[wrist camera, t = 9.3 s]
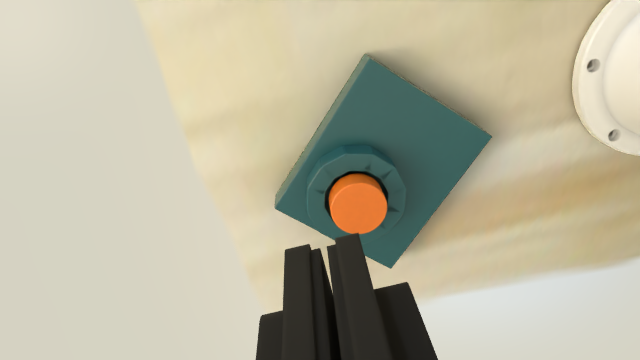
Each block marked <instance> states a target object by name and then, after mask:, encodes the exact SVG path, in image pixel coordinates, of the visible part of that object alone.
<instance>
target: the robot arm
mask: <svg viewBox="0 0 640 360" xmlns="http://www.w3.org/2000/svg"><path fill="white" fill-rule="evenodd" d="M588 63H589V64H588ZM587 65H588V66H587ZM572 95H573V100H574V104H575V109H576V111H577V114H578V116H579V118H580V120H581V122H582V124H583V125H584V126H585V128H586V129H587V130H588V132H589V133H590V134H591V135H592V136H594V137H595V138H596V139H597V140H599V141H600V142H601V143H603V144H605V145H607V146H609V147H611V148H613V149H614V150H617V151H620V152H623V153H626V154H630V155H639V156H640V0H611V1H610V2H609V3H608V4H607V5H606V6H605V7H604V8H603V10H602V11H601V12H600V14H599V15H598V16H597V17H596V19H595V20H594V21H593V23H592V24H591V26H590V28H589V29H588V31H587V33H586V35H585V37H584V38H583V40H582V43H581V45H580V48H579V51H578V54H577V56H576V59H575V65H574V70H573V75H572ZM335 242H336V245H331V246H327V251H328V259H329V266H330V274H331V282H332V290H333V293H332V290H331V286H330V282H329V279H328V275H327V271H326V268H325V264H324V260H323V257H322V253H321V250H320V248H318V249H314V250H311V247H310V245H309V244H307V245H303V246H299V247H295V248H290V249H286V250H285V263H284V294H283V311H278V312H274V313H270V314H265V315H262V316H261V318H260V323H259V333H258V344H257V353H256V360H438V358H437V356H436V353H435V351H434V348H433V346H432V343H431V340H430V338H429V335H428V333H427V330H426V327H425V325H424V323H423V320H422V317H421V315H420V312H419V309H418V307H417V304H416V302H415V299H414V297H413V294H412V291H411V289H410V286H409V284H408V283H407V282H405V283H400V284H396V285H392V286H387V287H383V288H379V289H373V286H372V282H371V278H370V274H369V270H368V267H367V263H366V259H365V255H364V252H363V248H362V244H361V240H360V236H359V233H354V234H350V235H346V236H341V237H337V238H335Z"/></svg>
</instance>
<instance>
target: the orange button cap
mask: <svg viewBox="0 0 640 360" xmlns="http://www.w3.org/2000/svg"><path fill="white" fill-rule="evenodd" d="M329 205H330V211H331V216H332V219H333V221H334V223H335V224H336V225H337V226H338V227H339V228H340V229H342V230H343V231H345V232H348V233H351V234H354V233H359V234H364V233H367V232H370V231H372V230H374V229H375V228H377V227H378V226H379V225H380V224H381V223H382V221H383V220H384V218H385V216H386V213H387V201H386V198H385V196H384V193H383V191H382V189H381V187H380V185H379V183H378V182H377V181H376V180H375V179H374V178H372V177H370V176H368V175H365V174H361V173H354V174H349V175H346V176H344V177H342V178H340V179H339V180H338V181H337V182H336V183H335V184H334V185H333V187H332V189H331V191H330V194H329Z"/></svg>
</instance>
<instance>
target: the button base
mask: <svg viewBox="0 0 640 360" xmlns="http://www.w3.org/2000/svg"><path fill="white" fill-rule="evenodd" d="M491 138H492V136H491V135H490V134H488V133H487V132H486V131H484V130H483V129H482V128H480V127H479V126H477V125H476V124H474V123H473V122H471V121H469V120H468V119H466V118H465V117H463V116H462V115H460V114H459V113H457V112H455V111H454V110H452V109H451V108H449V107H448V106H446V105H445V104H443V103H442V102H440V101H438V100H437V99H435V98H434V97H432V96H431V95H429V94H428V93H426V92H424V91H423V90H421V89H420V88H418V87H417V86H415V85H414V84H412V83H410V82H409V81H407V80H406V79H404V78H403V77H401V76H400V75H398V74H396V73H395V72H393V71H392V70H390V69H389V68H387V67H386V66H384V65H383V64H381V63H379V62H378V61H376V60H375V59H373V58H372V57H370V56H369V55H367V54H364V56H363V57H362V59H361V61H360V62H359V64H358V65H357V67H356V68H355V70H354V72H353V73H352V75H351V76H350V78H349V80H348V81H347V83H346V84H345V86H344V88H343V89H342V91H341V92H340V94H339V96H338V97H337V99H336V100H335V102H334V103H333V105H332V107H331V108H330V110H329V111H328V113H327V115H326V116H325V118H324V119H323V121H322V123H321V124H320V126H319V127H318V129H317V131H316V132H315V134H314V135H313V137H312V138H311V140H310V142H309V143H308V145H307V146H306V148H305V150H304V151H303V153H302V154H301V156H300V158H299V159H298V161H297V162H296V164H295V166H294V167H293V169H292V170H291V172H290V173H289V175H288V177H287V178H286V180H285V181H284V183H283V185H282V186H281V188H280V189H279V191H278V193H277V194H276V198H275V209H277V210H279V211H281V212H283V213H284V214H286V215H288V216H290V217H292V218H294V219H296V220H298V221H300V222H302V223H304V224H306V225H308V226H310V227H311V228H313V229H315V230H317V231H319V232H320V233H322V234H324V235H326V236H328V237H330V238H332V239H333V240H335V238H337V237H341V236H346V235H350V234H351V233H348V232H345V231H343V230H342V229H340V228H339V227H338V226H337V225H336V224H335V223H334V221H333V219H332V216H331V211H330V205H329V194H330V191H331V189H332V187H333V185H334V184H335V183H336V182H337V181H338V180H339V179H340V178H342V177H344V176H346V175H349V174H354V173H361V174H365V175H368V176H370V177H372V178H374V179H375V180H376V181H377V182H378V183H379V185H380V187H381V189H382V191H383V193H384V196H385V198H386V201H387V213H386V216H385V218H384V220H383V221H382V223H381V224H380V225H379V226H378V227H377V228H375V229H374V230H372V231H370V232H367V233H364V234H359V236H360V240H361V244H362V248H363V252H364V255H365V256H367V257H369V258H371V259H373V260H375V261H377V262H379V263H381V264H383V265H385V266H387V267H388V268H392V267H393V265H394V264H395V263H396V262H397V260H398V259H399V258H400V256H401V255H402V254H403V252H404V251H405V250H406V248H407V247H408V246H409V245H410V243H411V242H412V241H413V239H414V238H415V237H416V235H417V234H418V233H419V232H420V230H421V229H422V228H423V226H424V225H425V224H426V222H427V221H428V220H429V218H430V217H431V216H432V215H433V213H434V212H435V211H436V209H437V208H438V207H439V205H440V204H441V203H442V202H443V200H444V199H445V198H446V196H447V195H448V194H449V192H450V191H451V190H452V188H453V187H454V186H455V185H456V183H457V182H458V181H459V179H460V178H461V177H462V175H463V174H464V173H465V172H466V170H467V169H468V168H469V166H470V165H471V164H472V162H473V161H474V160H475V158H476V157H477V156H478V155H479V153H480V152H481V151H482V149H483V148H484V147H485V145H486V144H487V143H488V142H489V140H490V139H491Z"/></svg>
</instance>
